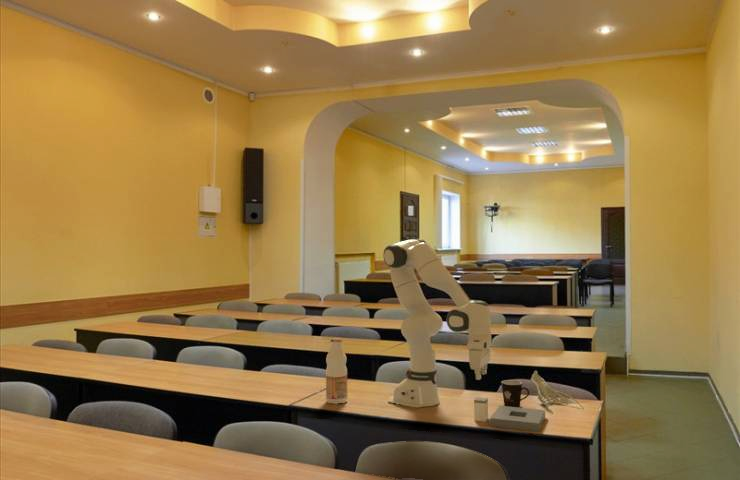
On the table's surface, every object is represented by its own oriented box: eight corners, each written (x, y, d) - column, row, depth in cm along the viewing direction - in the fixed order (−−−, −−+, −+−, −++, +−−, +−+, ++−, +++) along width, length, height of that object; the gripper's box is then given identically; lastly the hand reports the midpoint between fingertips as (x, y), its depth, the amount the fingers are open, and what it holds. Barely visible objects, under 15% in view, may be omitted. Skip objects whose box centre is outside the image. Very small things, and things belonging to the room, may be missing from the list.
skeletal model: (553, 414, 232) (524, 363, 249) (543, 426, 238) (516, 376, 255) (585, 409, 237) (554, 359, 255) (575, 421, 243) (546, 372, 260)
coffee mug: (497, 404, 247) (497, 381, 247) (514, 402, 250) (514, 379, 250) (513, 411, 236) (513, 387, 236) (531, 409, 239) (530, 385, 239)
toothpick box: (474, 420, 225) (474, 400, 225) (477, 417, 229) (476, 397, 229) (485, 421, 223) (485, 401, 223) (488, 418, 227) (487, 398, 227)
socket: (490, 426, 218) (490, 418, 218) (499, 412, 234) (499, 405, 234) (539, 431, 211) (538, 423, 211) (545, 417, 227) (545, 410, 227)
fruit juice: (322, 403, 252) (321, 339, 252) (332, 398, 261) (331, 336, 261) (341, 405, 248) (340, 341, 248) (351, 400, 257) (350, 337, 257)
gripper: (478, 337, 237) (479, 370, 237) (465, 345, 219) (467, 381, 218) (493, 337, 235) (494, 371, 234) (482, 346, 216) (483, 382, 216)
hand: (481, 376), depth 226 cm, fingers open, 8 cm apart
